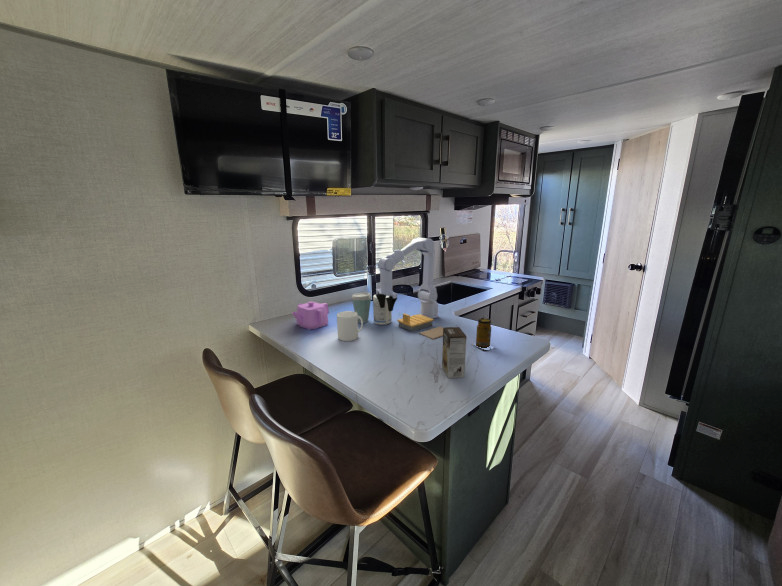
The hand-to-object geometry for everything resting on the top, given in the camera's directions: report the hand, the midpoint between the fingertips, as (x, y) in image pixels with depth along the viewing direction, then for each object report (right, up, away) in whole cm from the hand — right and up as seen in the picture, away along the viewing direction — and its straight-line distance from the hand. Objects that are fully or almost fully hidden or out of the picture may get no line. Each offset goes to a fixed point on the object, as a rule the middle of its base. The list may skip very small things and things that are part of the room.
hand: (386, 309), depth 163 cm
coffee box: (+25, -21, -41) cm, 53 cm away
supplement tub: (-2, -8, +12) cm, 14 cm away
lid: (+15, -7, +6) cm, 17 cm away
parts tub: (+15, -9, +6) cm, 18 cm away
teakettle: (-40, -9, +10) cm, 42 cm away
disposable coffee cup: (-13, -7, +15) cm, 21 cm away
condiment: (+43, -16, -19) cm, 49 cm away
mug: (-17, -13, -8) cm, 23 cm away
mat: (+24, -11, -4) cm, 27 cm away
